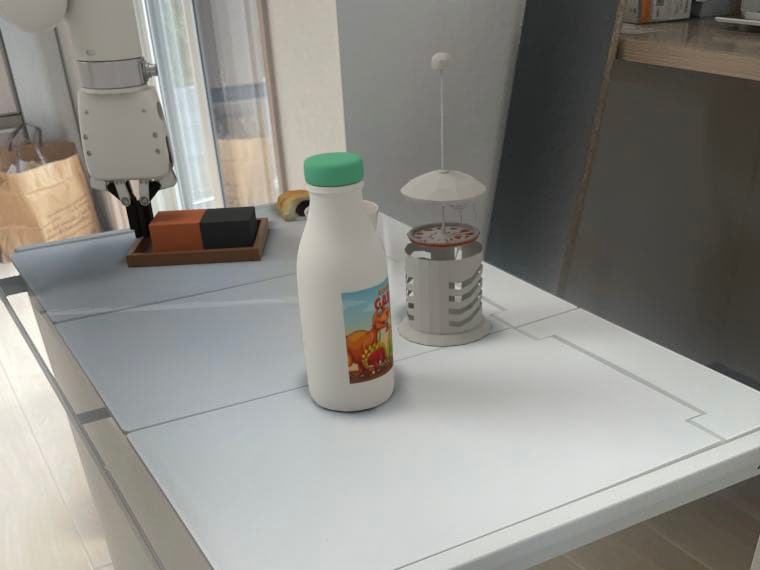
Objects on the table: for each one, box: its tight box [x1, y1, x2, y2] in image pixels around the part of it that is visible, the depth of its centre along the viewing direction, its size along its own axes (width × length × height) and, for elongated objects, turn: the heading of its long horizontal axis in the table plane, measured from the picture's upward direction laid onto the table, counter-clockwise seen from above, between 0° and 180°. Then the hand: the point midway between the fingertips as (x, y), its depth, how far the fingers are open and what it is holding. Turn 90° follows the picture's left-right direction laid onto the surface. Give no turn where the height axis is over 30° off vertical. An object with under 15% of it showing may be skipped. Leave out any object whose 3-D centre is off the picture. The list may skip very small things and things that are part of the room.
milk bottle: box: [296, 151, 395, 412], centre depth 70 cm, size 8×8×20 cm
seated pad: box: [199, 205, 258, 250], centre depth 110 cm, size 6×6×4 cm
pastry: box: [276, 189, 310, 222], centre depth 122 cm, size 9×7×4 cm
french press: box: [397, 51, 492, 347], centre depth 81 cm, size 10×12×25 cm
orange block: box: [149, 208, 207, 252], centre depth 109 cm, size 6×6×4 cm
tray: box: [124, 217, 270, 269], centre depth 110 cm, size 17×14×2 cm
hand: (144, 234), depth 109 cm, fingers closed
